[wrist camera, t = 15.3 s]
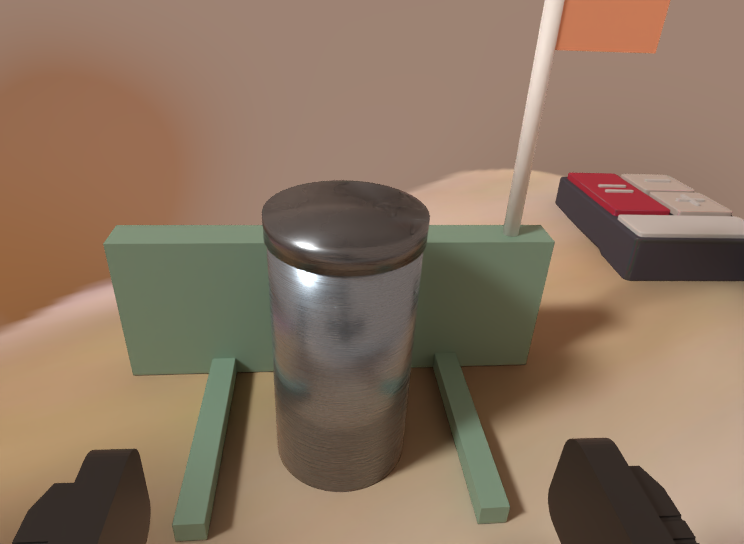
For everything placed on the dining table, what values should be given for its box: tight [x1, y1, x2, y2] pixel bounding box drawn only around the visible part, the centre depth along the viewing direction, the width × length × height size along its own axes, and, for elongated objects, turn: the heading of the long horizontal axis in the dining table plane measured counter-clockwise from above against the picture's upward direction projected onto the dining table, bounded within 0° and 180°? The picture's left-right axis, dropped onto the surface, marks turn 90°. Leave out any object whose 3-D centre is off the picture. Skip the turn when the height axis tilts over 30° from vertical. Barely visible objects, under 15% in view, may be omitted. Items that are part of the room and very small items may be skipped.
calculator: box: [556, 173, 744, 281], centre depth 47 cm, size 11×4×15 cm
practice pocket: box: [103, 0, 670, 541], centre depth 23 cm, size 25×12×20 cm, turn 95°
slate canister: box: [262, 180, 430, 492], centre depth 24 cm, size 6×6×12 cm
